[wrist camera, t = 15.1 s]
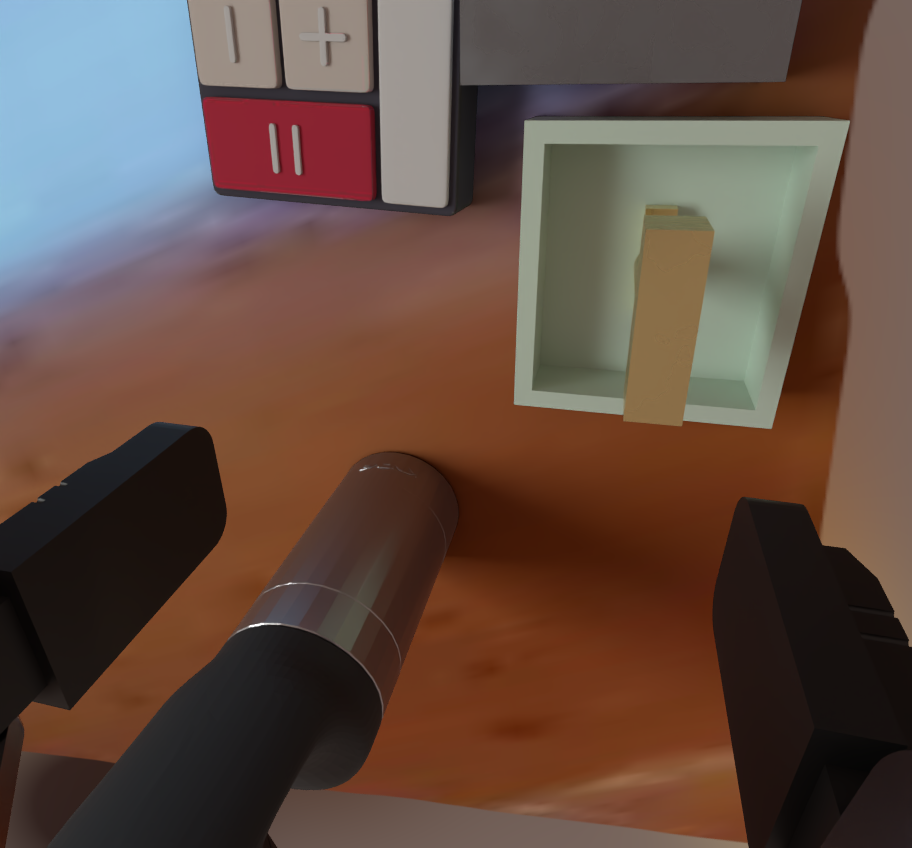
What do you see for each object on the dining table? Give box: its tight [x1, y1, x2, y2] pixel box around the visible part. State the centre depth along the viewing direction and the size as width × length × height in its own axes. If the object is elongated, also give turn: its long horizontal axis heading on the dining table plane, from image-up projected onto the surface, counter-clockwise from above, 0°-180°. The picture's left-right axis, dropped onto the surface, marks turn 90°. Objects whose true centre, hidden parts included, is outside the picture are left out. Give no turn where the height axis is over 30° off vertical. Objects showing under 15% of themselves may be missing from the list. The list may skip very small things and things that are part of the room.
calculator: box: [187, 0, 478, 216], centre depth 34 cm, size 11×4×15 cm
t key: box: [623, 205, 715, 426], centre depth 30 cm, size 8×2×12 cm, turn 1°
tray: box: [514, 116, 850, 429], centre depth 34 cm, size 15×14×4 cm
